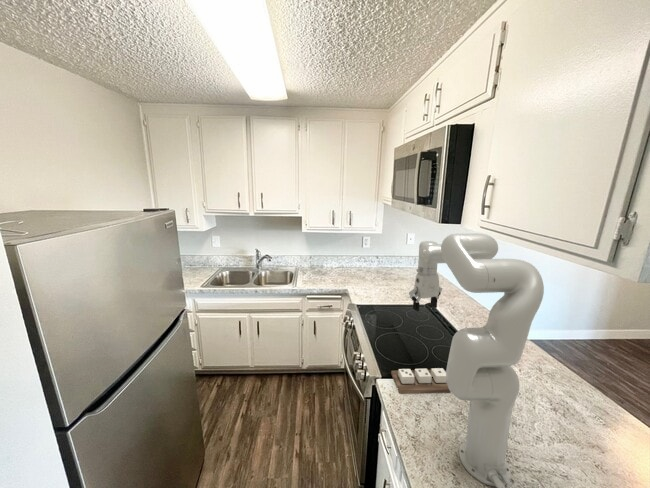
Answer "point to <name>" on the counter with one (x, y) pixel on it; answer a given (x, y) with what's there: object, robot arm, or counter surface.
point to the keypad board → (419, 386)
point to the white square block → (406, 376)
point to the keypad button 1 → (438, 375)
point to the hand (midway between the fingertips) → (424, 308)
